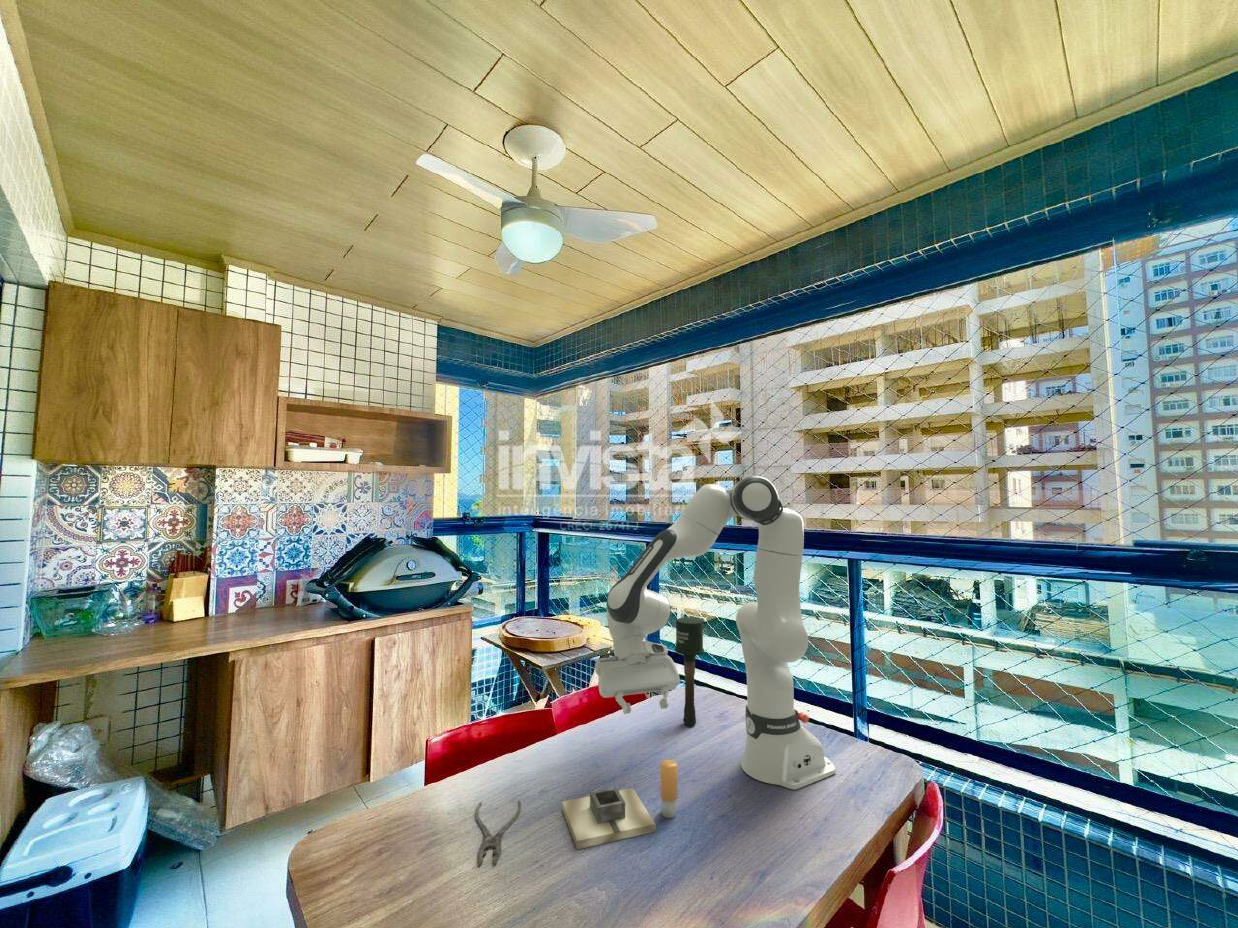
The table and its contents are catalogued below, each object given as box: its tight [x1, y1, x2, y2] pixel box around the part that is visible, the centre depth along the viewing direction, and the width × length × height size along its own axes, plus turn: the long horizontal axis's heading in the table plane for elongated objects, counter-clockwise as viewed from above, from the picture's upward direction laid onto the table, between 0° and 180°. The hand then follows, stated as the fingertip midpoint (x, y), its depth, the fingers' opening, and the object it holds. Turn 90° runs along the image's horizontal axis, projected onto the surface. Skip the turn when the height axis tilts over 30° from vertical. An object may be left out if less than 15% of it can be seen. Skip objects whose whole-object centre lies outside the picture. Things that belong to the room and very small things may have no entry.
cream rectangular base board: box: [561, 786, 656, 850], centre depth 104 cm, size 16×13×4 cm
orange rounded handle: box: [659, 759, 679, 819], centre depth 107 cm, size 4×4×10 cm
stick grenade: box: [674, 616, 705, 728], centre depth 149 cm, size 8×9×30 cm
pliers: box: [474, 799, 523, 868], centre depth 101 cm, size 10×1×20 cm
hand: (646, 710), depth 119 cm, fingers open, 8 cm apart
